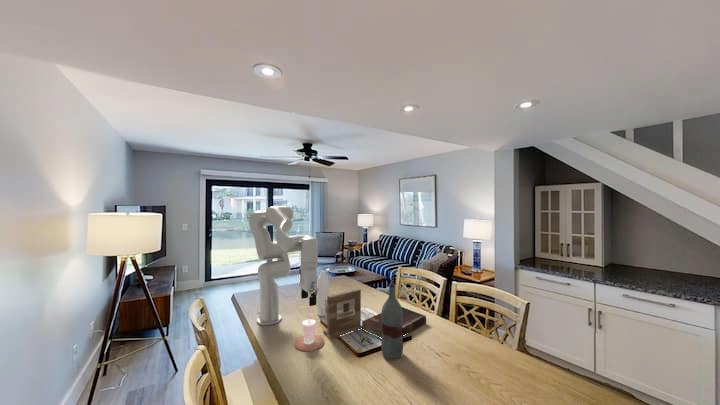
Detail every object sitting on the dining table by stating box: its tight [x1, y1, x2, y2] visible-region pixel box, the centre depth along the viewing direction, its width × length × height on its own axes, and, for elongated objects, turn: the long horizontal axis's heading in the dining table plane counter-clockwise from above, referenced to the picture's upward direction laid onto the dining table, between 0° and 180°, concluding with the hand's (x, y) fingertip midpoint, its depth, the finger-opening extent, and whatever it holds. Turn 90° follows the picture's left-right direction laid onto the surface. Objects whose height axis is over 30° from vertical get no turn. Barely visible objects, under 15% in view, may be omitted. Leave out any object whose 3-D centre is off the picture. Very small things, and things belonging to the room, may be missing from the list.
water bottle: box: [316, 268, 331, 317], centre depth 158 cm, size 9×6×25 cm
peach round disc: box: [294, 334, 325, 352], centre depth 125 cm, size 13×13×1 cm
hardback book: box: [361, 306, 427, 338], centre depth 141 cm, size 29×19×5 cm, turn 134°
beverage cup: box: [301, 310, 317, 344], centre depth 125 cm, size 6×6×14 cm
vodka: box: [380, 283, 404, 361], centre depth 116 cm, size 9×9×30 cm
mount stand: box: [322, 288, 362, 340], centre depth 137 cm, size 10×18×20 cm, turn 124°
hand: (308, 301), depth 125 cm, fingers open, 9 cm apart
